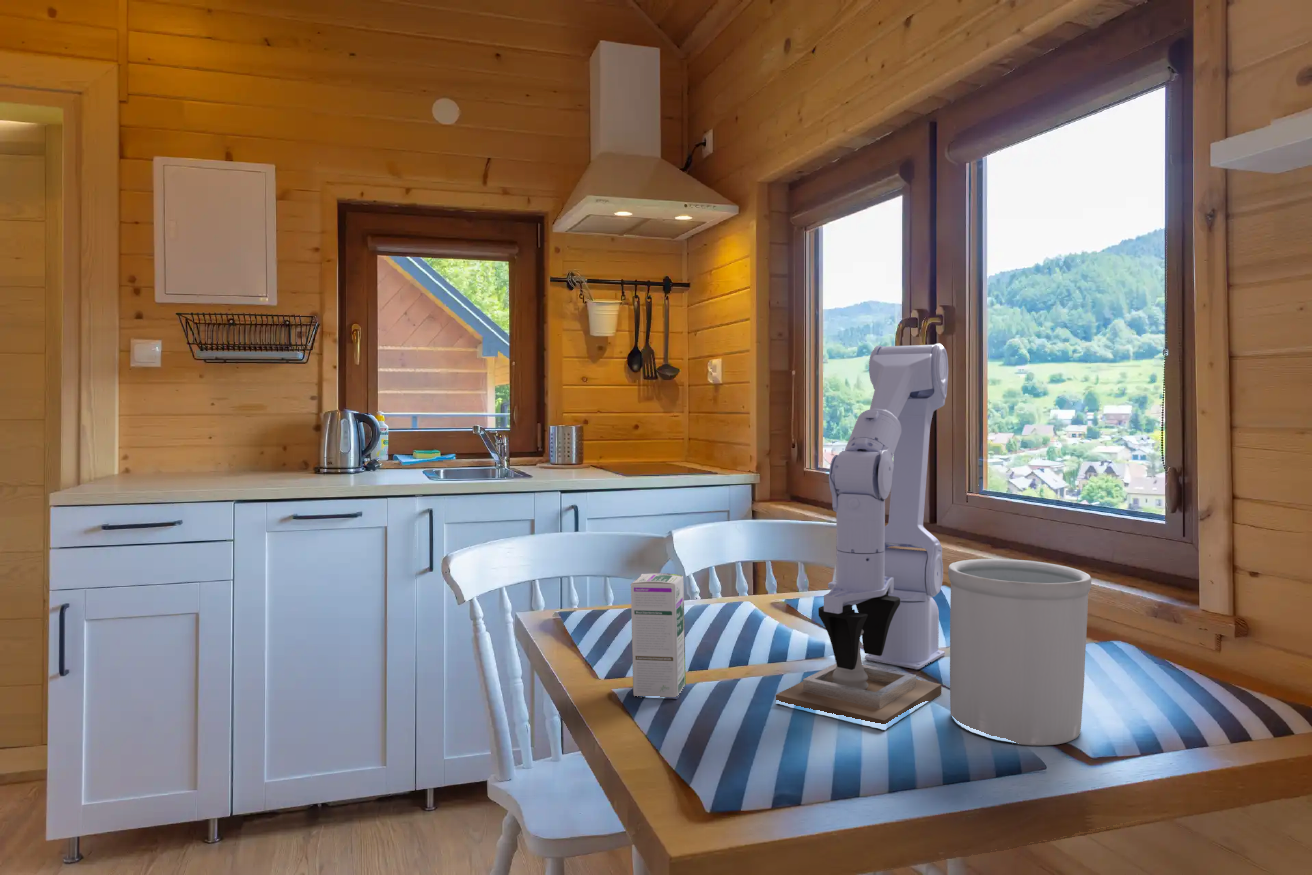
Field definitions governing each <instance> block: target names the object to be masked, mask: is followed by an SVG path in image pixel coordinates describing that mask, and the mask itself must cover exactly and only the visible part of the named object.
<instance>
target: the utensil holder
mask: <svg viewBox="0 0 1312 875" xmlns="http://www.w3.org/2000/svg"><path fill="white" fill-rule="evenodd" d="M947 574H948V580H949V582H950V603H949V604H950V611H949V613H950V615H949V616H950V617H949V653H950V654H949V697H950V698H949V700H950V702H949V703H950V704H949V705H950V706H949V707H950V709H949V710H950V711H949V712H950V716H951V715H952V716H953V717H954V718H955V719H956V720H957V721H959V722H960V723H962V724H964V725H966V726H969V727H970V728H973V729H976V730H979V731H981V732H984V733H986V734H989V735H991V736H997V737H1000V738H1006V739H1008V740H1011V741H1014V742H1016V743H1019V744H1018V745H1023V746H1054V745H1060V744H1061V745H1062V744H1065V743H1070V742H1072V741H1074V740H1075V739H1077V738H1078V737H1079V736H1080V734H1081V729H1082V721H1083V720H1082V719H1083V717H1082V716H1083V703H1084V702H1083V701H1084V693H1085V692H1084V690H1085V676H1086V674H1085V669H1086V650H1087V649H1086V647H1087V634H1088V633H1087V630H1088V629H1087V628H1088V612H1089V611H1088V609H1089V608H1088V605H1089V603H1088V602H1089V592H1090V591H1091V589H1092V577H1091V575H1090V574H1089V573H1086V572H1085V571H1082V570H1080V569H1076V568H1073V567H1069V566H1065V565H1060V564H1054V563H1049V562H1042V561H1036V560H1026V559H1025V560H1024V559H1007V558H978V559H976V558H975V559H963V560H958V561H956V562H955V561H953V562H952V563H950V564H949V565H948V569H947Z"/></svg>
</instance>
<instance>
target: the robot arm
mask: <svg viewBox="0 0 1312 875" xmlns="http://www.w3.org/2000/svg"><path fill="white" fill-rule="evenodd" d="M868 373H869V379H870V383H871V384H872V387H873V389H874V391H873V395H872V398H871V399H872V400H871V404H870V408H869V409H866V410H864V411H862V412H861V413H860V414H859V415H858V416H857V419H856V421H855V424H854V427H853V429H852V431H851V434H850V436H849V439H848V441H847V444H846V446H845V449H844V450H842V451H840V452H839V454H835V455H834V456H832V459H831V462H830V463H829V464H830V465H829V473H828V484H829V489H830V493H831V498H832V505H831V506H832V510H833V512H835V513H836V525H835V526H836V527H835V528H836V530H835V532H836V540H835V542H836V543H835V544H836V545H835V547H836V558H835V559H836V562H835V564H836V569H835V570H836V574H835V575H836V576H835V577H836V578H835V579H836V580H833V581H830V582H828V583H827V588H828V589H829V590H830V591H829V592H828V593H826V594H824V595H823V605H822V606H820V607H818V611H817V612H818V613H817V614H818V617H819V619H820V621H821V622H822V624H823V625H824V628H825V630H826V632H827V634H828V637H829V641H830V644H831V648H832V652H833V656H834V660H835V664H837V667H840V668H845V669H849V670H853V669H855V667H856V663H857V657H858V647H859V640H860V641H861V640H862V641H861V643H862V646H863V651H864V654H866V655H865V656H864V659H865V661H866V660H867V661H873V662H876V663H883V664H887V665H892V666H897V667H902V668H909V669H912V670H913V669H914V670H920V669H922V668H923V667H926V666H927V665H929V664H931V663H933V662H934V661H936V660H938V659H939V658H941V657H943V656H945V655H946V652H945V650H940V649H939V632H940V631H939V630H940V629H939V628H940V626H939V624H940V621H939V620H940V618H939V615H940V614H939V612H940V611H939V607H938V605H937V604H938V603H937V602H936V601H935V599H934V598H933V597H936V596H937V595H938V594H939V593H940V592H941V589H942V586H943V581H944V580H943V578H944V563H943V546H942V544H941V542H940V540H939V539H938V538H937V537H936V536H935V535H933V534H932V533H931V532H930V531H929V530H927V529H926V527H925V526H924V515H925V502H926V489H927V488H926V487H927V473H928V461H929V448H930V446H929V445H930V434H931V433H930V432H931V424H932V420H933V419H932V418H933V417H934V416H933V415H934V412H935V411H936V410H938V409H941V408H942V407H944V406H945V404H946V398H947V396H948V394H947V393H948V383H949V382H948V381H949V358H948V353H947V348H945V347H944V346H943V344H942V343H940V342H938V343H934V344H921V345H920V344H917V345H916V344H914V345H889V346H888V345H886V346H883V345H876V346H875V347H874V349H873V350H872V351H871V354H870V356H869V362H868ZM889 495H890V498H889V510H888V511H889V513H888V522H887V524H886V521H885V520H886V499H888V497H889ZM891 547H892V548H891ZM894 547H900V548H894ZM901 547H902V548H901ZM905 548H914V549H905ZM916 548H917V549H916ZM920 549H921V550H920ZM922 549H924V550H922ZM853 606H855V607H856V610H857V612H856V610H855V609H853ZM862 629H863V631H864V633H863V634H862V635H861V631H862ZM860 635H861V637H860ZM930 662H931V663H930ZM928 663H929V664H928ZM925 665H926V666H925Z"/></svg>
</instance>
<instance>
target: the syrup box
mask: <svg viewBox="0 0 1312 875" xmlns="http://www.w3.org/2000/svg"><path fill="white" fill-rule="evenodd" d="M684 585H685V584H684V576H683V575H682V574H678V573H677V574H676V573H669V572H668V573H666V572H661V573H659V572H655V573H654V572H653V573H641V574H640V576H639V577H638V578H636V579H634V581H633V582H631V584H630V601H631V602H630V605H631V608H630V610H631V611H630V612H631V651H632V653H631V655H632V656H631V657H632V690H633V691H632V692H633V693H632V694H633V696H634V697H635V696H637V697H636V698H639V697H638V696H643V697H644V696H660V697H676V696H678V695H679V693H681V694H682V692H681V691H683V690H682V689H684V688H685V687H686V685H687V683H686V681H687V680H686V678H687V677H686V674H687V673H686V634H685V633H686V632H685V629H686V628H685V626H686V625H685V595H684V594H685V593H684V592H685V591H684V590H685V589H684V588H685V586H684ZM683 687H684V688H683ZM679 696H680V695H679ZM679 696H678V697H679Z"/></svg>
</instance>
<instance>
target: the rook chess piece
mask: <svg viewBox="0 0 1312 875" xmlns="http://www.w3.org/2000/svg"><path fill="white" fill-rule="evenodd" d="M863 633H864V631H863V629H862V631H861V635H860V638H862V634H863ZM861 646H863V642H862V641H861V639H860V640H859V647H858V657H857V663H856V667H855V669H853V670H849V669H845V668H840V667H837V666H836V670H835V671H834V672H833V675H832V677H833V678H834V679H835V680H833V681H832V683H836V684H840V685H845V686H849V687H854V688H859V689H863V690H866V689H867V687H868V685H869V684H868V683H867V682H866V681H867V679H868V675H867V673H866V672H865V671H864V667H863V665H864V664H863V661H862V656H861V655H862V654H861ZM862 664H863V665H862Z"/></svg>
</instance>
